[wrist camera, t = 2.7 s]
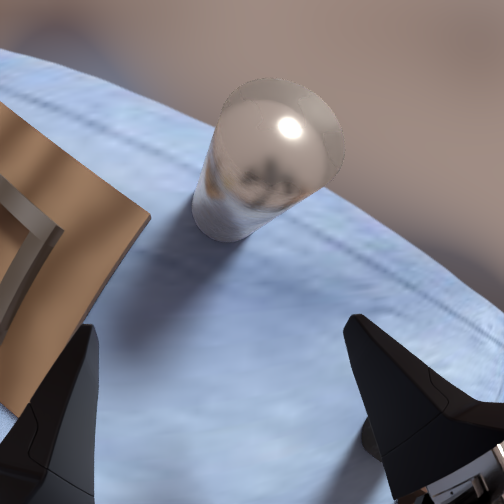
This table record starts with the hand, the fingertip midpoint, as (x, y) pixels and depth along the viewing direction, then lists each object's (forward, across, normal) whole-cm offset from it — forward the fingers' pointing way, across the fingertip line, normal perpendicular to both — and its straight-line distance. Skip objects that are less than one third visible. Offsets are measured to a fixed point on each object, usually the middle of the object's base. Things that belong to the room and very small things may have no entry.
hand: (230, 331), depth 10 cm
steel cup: (+15, -3, +4) cm, 16 cm away
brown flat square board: (+13, +17, +6) cm, 22 cm away
